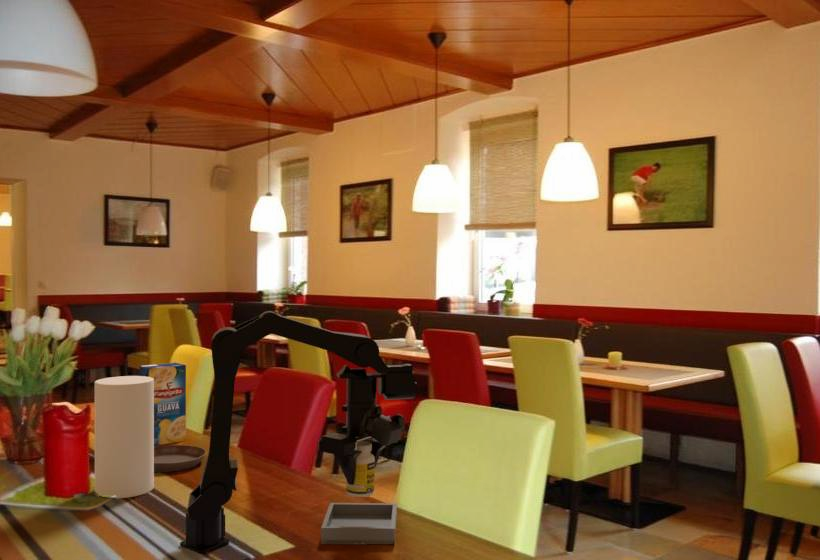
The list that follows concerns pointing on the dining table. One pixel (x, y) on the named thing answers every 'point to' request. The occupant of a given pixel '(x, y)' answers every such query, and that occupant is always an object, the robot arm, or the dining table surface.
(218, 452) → the robot arm
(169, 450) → the plant saucer
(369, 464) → the supplement bottle
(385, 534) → the gray rectangular open tray
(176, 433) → the beverage box
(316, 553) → the dining table surface
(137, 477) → the cylinder
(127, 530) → the dining table surface
